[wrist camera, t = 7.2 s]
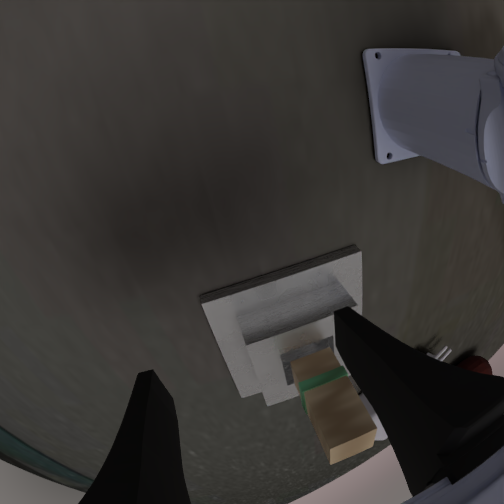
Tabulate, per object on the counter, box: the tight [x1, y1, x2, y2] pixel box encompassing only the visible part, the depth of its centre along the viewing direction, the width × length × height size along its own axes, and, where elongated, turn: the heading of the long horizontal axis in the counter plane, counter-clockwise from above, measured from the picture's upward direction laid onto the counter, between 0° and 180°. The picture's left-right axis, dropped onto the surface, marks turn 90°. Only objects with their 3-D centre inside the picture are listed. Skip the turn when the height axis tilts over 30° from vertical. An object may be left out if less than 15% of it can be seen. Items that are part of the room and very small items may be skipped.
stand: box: [200, 245, 362, 406], centre depth 25 cm, size 12×12×4 cm
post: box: [290, 347, 377, 465], centre depth 19 cm, size 3×3×7 cm
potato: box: [457, 356, 492, 375], centre depth 38 cm, size 7×8×7 cm
